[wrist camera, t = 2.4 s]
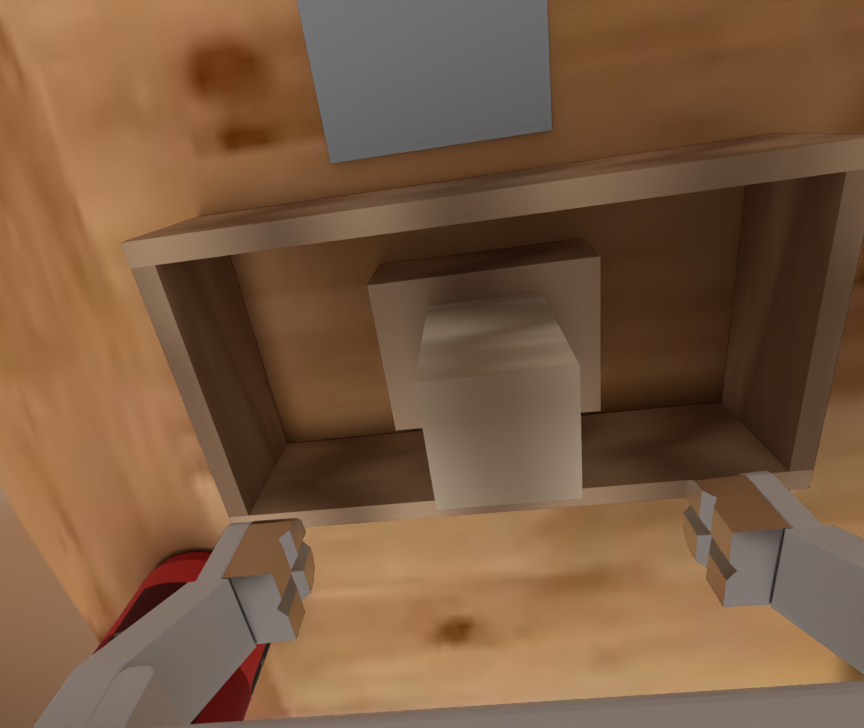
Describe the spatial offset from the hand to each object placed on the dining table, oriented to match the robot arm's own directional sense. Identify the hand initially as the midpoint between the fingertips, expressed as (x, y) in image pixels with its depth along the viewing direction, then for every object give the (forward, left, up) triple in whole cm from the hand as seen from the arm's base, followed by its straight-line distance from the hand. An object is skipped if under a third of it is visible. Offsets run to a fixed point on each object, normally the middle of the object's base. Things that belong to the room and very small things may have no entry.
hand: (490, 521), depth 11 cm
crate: (-1, 0, -12) cm, 12 cm away
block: (-1, 0, -9) cm, 9 cm away
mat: (0, -11, -12) cm, 16 cm away
